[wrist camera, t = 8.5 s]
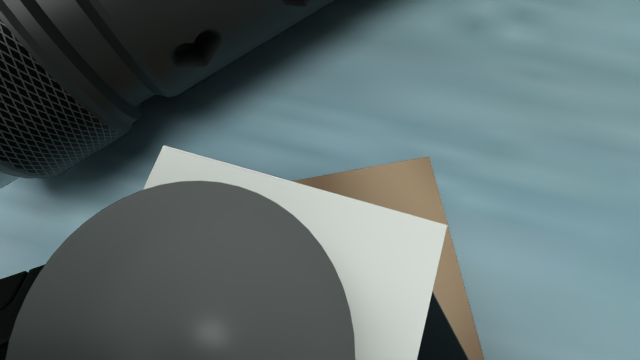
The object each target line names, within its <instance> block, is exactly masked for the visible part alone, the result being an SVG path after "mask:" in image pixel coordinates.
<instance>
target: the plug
mask: <svg viewBox="0 0 640 360" xmlns="http://www.w3.org/2000/svg"><path fill="white" fill-rule="evenodd" d="M446 229H447V225H445V224H441V223H438V222H434V221H431V220H427V219H424V218H420V217H417V216H413V215H410V214H406V213H402V212H399V211H395V210H392V209H388V208H385V207H381V206H378V205H374V204H370V203H367V202H363V201H360V200H356V199H353V198H349V197H346V196H342V195H339V194H335V193H331V192H328V191H324V190H321V189H317V188H314V187H310V186H307V185H303V184H299V183H296V182H292V181H289V180H285V179H282V178H278V177H275V176H271V175H268V174H264V173H260V172H257V171H253V170H250V169H246V168H243V167H239V166H236V165H232V164H229V163H225V162H221V161H218V160H214V159H211V158H207V157H204V156H200V155H197V154H193V153H189V152H186V151H182V150H179V149H175V148H172V147H168V146H165V145H163V147H162V150H161V152H160V154H159V156H158V158H157V160H156V163H155V165H154V167H153V169H152V171H151V174H150V176H149V178H148V180H147V182H146V184H145V187H144V189H143V190H141V191H138V192H136V193H134V194H131V195H129V196H127V197H124V198H122V199H120V200H118V201H117V202H115V203H113V204H111V205H110V206H108V207H106V208H104V209H103V210H101V211H100V212H98V213H97V214H96V215H94V216H93V217H91V218H90V219H89V220H87V221H86V222H85V223H83V224H82V225H81V226H80V227H79V228H78V229H77V230H76V231H75V232H74V233H72V234H71V235H70V236H69V237H68V238H67V239H66V240H65V241H64V242H63V244H62V245H61V246H60V247H59V248H58V249H57V250H56V251H55V253H54V254H53V255H52V256H51V258H50V259H49V260H48V262H47V263H46V265H45V266H44V267H43V269H42V270H41V271H40V273H39V274H38V276H37V278H36V279H35V281H34V283H33V285H32V286H31V288H30V290H29V292H28V293H27V295H26V298H25V300H24V302H23V304H22V307H21V309H20V311H19V313H18V316H17V318H16V321H15V324H14V328H13V331H12V334H11V337H10V340H9V344H8V349H7V354H6V359H5V360H417V357H418V353H419V348H420V344H421V340H422V335H423V331H424V326H425V322H426V317H427V313H428V308H429V304H430V300H431V295H432V291H433V286H434V282H435V277H436V273H437V268H438V264H439V260H440V255H441V251H442V246H443V242H444V237H445V233H446Z"/></svg>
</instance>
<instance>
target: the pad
mask: <svg viewBox="0 0 640 360" xmlns="http://www.w3.org/2000/svg"><path fill="white" fill-rule="evenodd" d="M292 182H296V183H299V184H303V185H307V186H310V187H314V188H317V189H321V190H324V191H328V192H331V193H335V194H339V195H342V196H346V197H349V198H353V199H356V200H360V201H363V202H367V203H370V204H374V205H378V206H381V207H385V208H388V209H392V210H395V211H399V212H402V213H406V214H410V215H413V216H417V217H420V218H424V219H427V220H431V221H434V222H438V223H441V224H445V225H447V229H446V233H445V237H444V242H443V246H442V251H441V255H440V260H439V264H438V268H437V273H436V277H435V282H434V286H433V293H434V295H435V297H436V299H437V301H438V302H439V304H440V306H441V308H442V310H443V312H444V314H445V316H446V317H447V319H448V321H449V323H450V325H451V327H452V329H453V331H454V333H455V334H456V336H457V338H458V340H459V342H460V344H461V346H462V348H463V349H464V351H465V353H466V355H467V357H468V359H469V360H484V357H483V353H482V350H481V346H480V342H479V339H478V335H477V331H476V328H475V324H474V320H473V316H472V313H471V309H470V305H469V302H468V298H467V294H466V291H465V287H464V283H463V280H462V276H461V272H460V269H459V265H458V261H457V258H456V254H455V250H454V247H453V243H452V239H451V235H450V232H449V228H448V224H447V221H446V217H445V213H444V210H443V206H442V202H441V199H440V195H439V191H438V188H437V184H436V180H435V177H434V173H433V169H432V166H431V162H430V158H429V157H423V158H418V159H412V160H407V161H401V162H396V163H390V164H385V165H379V166H374V167H368V168H363V169H357V170H352V171H346V172H340V173H335V174H329V175H324V176H318V177H313V178H307V179H302V180H296V181H292Z"/></svg>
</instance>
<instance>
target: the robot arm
mask: <svg viewBox="0 0 640 360" xmlns="http://www.w3.org/2000/svg"><path fill="white" fill-rule="evenodd" d="M45 265H46V264H45ZM45 265H42V266H39V267H36V268H33V269H31V270H29V272H26V271H24V272H21V273H18V274H15V275H12V276H9V277H6V278H3V279H0V360H5V359H6V354H7V349H8V344H9V340H10V337H11V334H12V331H13V328H14V324H15V321H16V318H17V316H18V313H19V311H20V309H21V307H22V304H23V302H24V300H25V298H26V295H27V293H28V292H29V290H30V288H31V286H32V285H33V283H34V281H35V279H36V278H37V276H38V274H39V273H40V271H41V270H42V269H43V267H44V266H45ZM417 360H469V359H468V357H467V355H466V353H465V351H464V349H463V348H462V346H461V344H460V342H459V340H458V338H457V336H456V334H455V333H454V331H453V329H452V327H451V325H450V323H449V321H448V319H447V317H446V316H445V314H444V312H443V310H442V308H441V306H440V304H439V302H438V301H437V299H436V297H435V295H434V293H433V291H432V295H431V300H430V304H429V308H428V313H427V317H426V322H425V326H424V331H423V335H422V340H421V344H420V348H419V353H418V357H417Z"/></svg>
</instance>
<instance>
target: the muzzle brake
mask: <svg viewBox="0 0 640 360" xmlns="http://www.w3.org/2000/svg"><path fill="white" fill-rule="evenodd" d="M332 1H334V0H0V188H3V187H4V186H6V185H8V184H9V183H11V182H13V181H14V180H16V179H18V178H19V177H21V178H47V177H52V176H56V175H60V174H61V173H63V172H65V171H66V170H68V169H70V168H71V167H73V166H74V165H76V164H78V163H79V162H81V161H83V160H84V159H86V158H88V157H89V156H91V155H93V154H94V153H96V152H97V151H99V150H101V149H102V148H104V147H106V146H107V145H109V144H111V143H112V142H114V141H116V140H117V139H119V138H120V137H122V136H124V135H125V134H127V133H128V132H129V131H130V130H131V129H132V123H133V122H135V121H136V120H138V119H139V118H140V112H139V106H138V104H140V103H142V102H143V101H145V100H147V99H148V98H150V97H151V96H153V95H155V94H158V95H162V96H166V97H174V96H177V95H178V94H180V93H182V92H183V91H185V90H187V89H188V88H190V87H192V86H193V85H195V84H197V83H198V82H200V81H202V80H203V79H205V78H207V77H208V76H210V75H211V74H213V73H215V72H216V71H218V70H220V69H221V68H223V67H225V66H226V65H228V64H230V63H231V62H233V61H235V60H236V59H238V58H240V57H241V56H243V55H244V54H246V53H248V52H249V51H251V50H253V49H254V48H256V47H258V46H259V45H261V44H263V43H264V42H266V41H268V40H269V39H271V38H273V37H274V36H276V35H278V34H279V33H281V32H282V31H284V30H286V29H287V28H289V27H291V26H292V25H294V24H296V23H297V22H299V21H301V20H302V19H304V18H306V17H307V16H309V15H311V14H312V13H314V12H315V11H317V10H319V9H320V8H322V7H324V6H325V5H327V4H329V3H330V2H332Z"/></svg>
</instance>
